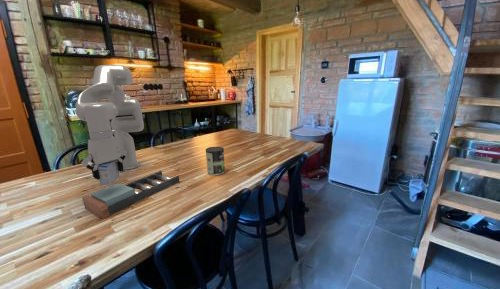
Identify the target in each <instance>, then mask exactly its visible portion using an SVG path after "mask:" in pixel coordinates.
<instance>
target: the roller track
mask: <svg viewBox="0 0 500 289" xmlns="http://www.w3.org/2000/svg"><path fill="white" fill-rule="evenodd" d="M158 180H160V181H158ZM161 181H162V182H161ZM180 181H181V180H180V176H179V175H176V176H174V177H169V176H165V175H163V171H162V170H159V171H157V172H155V173H151V174H149V175H147V176H144V177H141V178H138V179H136V180H134V181H132V182H128V183H125V185H126V186H128V187H131V188H133V189H134V190H135V189H137V188H138V189H140V190H142V191H140V192H139V191H137V190H135V195H133V196H131V197H129V198H126V199H124V200H122V201H120V202H117V203H115V204H113V205H111V206H107V204H106V203H104V202H102V201H100V200H98V199H96V198H94V197H92V196H91V194H90V195H89V194H88V195H84V196H83V197H81V199H82V201H83V206H84V209H86V210H88V211H89V212H91V213H93V214H94V215H97V217H100V218H102V219H105V218H107V217H109V216H111V215H113V214H115V213H118V212H119V211H121V210H124V209H126V208H127V207H130V206H132V205H134V204H136V203H138V202H141V201H142V200H145V199H147V198H148V197H149V198H150V196H152V195H154V194H158V193H159V192H161V191H163V190H165V189H167V188H169V187H171V186H172V187H173V185H176V184H177V183H180ZM146 184H149V185H146ZM150 185H153V186H150Z"/></svg>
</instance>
